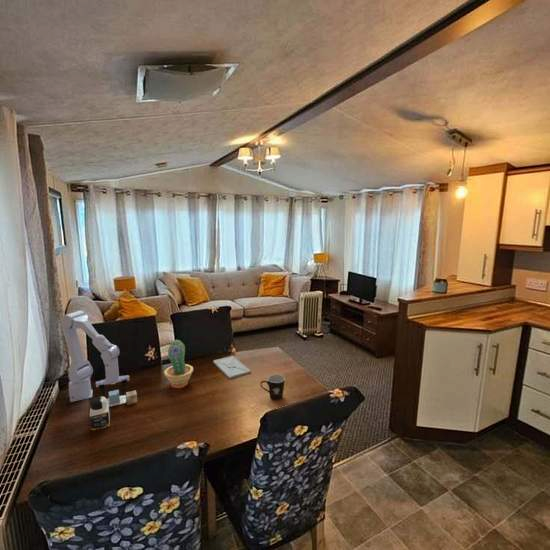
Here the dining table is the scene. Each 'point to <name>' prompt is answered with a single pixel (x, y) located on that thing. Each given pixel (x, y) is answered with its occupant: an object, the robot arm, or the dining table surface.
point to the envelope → (231, 367)
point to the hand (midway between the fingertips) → (114, 396)
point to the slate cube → (114, 397)
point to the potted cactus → (178, 365)
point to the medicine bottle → (99, 413)
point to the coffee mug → (275, 386)
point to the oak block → (131, 397)
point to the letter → (122, 400)
